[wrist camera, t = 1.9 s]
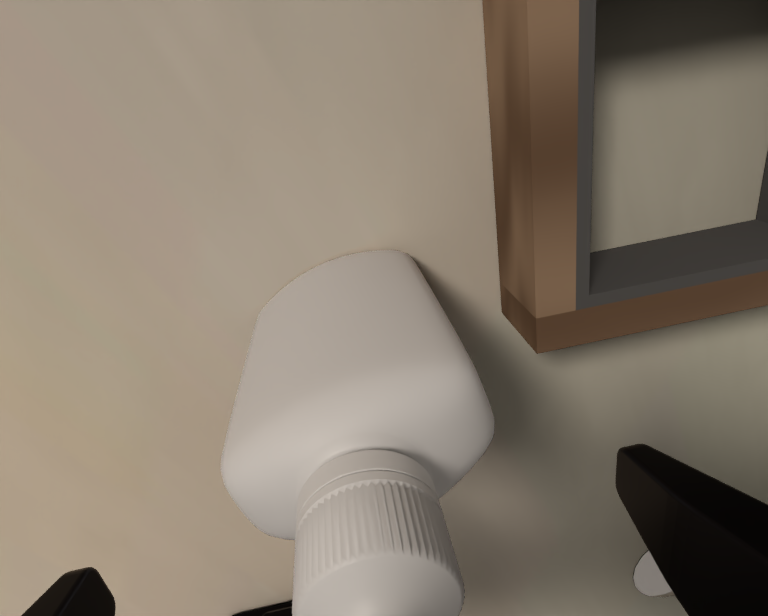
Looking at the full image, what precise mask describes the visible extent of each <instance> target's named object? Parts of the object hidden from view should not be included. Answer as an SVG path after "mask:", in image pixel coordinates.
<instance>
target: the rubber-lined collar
mask: <svg viewBox="0 0 768 616" xmlns="http://www.w3.org/2000/svg"><path fill="white" fill-rule="evenodd" d="M483 16H484V32H485V48H486V64H487V81H488V97H489V113H490V129H491V145H492V161H493V177H494V193H495V209H496V225H497V241H498V257H499V273H500V289H501V305H502V313H503V314H504V316H505V317H506V318H507V319H508V320H509V321H510V323H511V324H512V325H513V326H514V327H515V328H516V330H517V331H518V332H519V333H520V334H521V336H522V337H523V338H524V339H525V340H526V341H527V343H528V344H529V345H530V346H531V347H532V348H533V350H534V351H535V352H536V353H537V354H538V353H543V352H548V351H552V350H557V349H562V348H567V347H571V346H576V345H581V344H586V343H590V342H595V341H600V340H604V339H609V338H614V337H619V336H623V335H628V334H633V333H638V332H642V331H647V330H652V329H656V328H661V327H666V326H671V325H675V324H680V323H685V322H690V321H694V320H699V319H704V318H709V317H713V316H718V315H723V314H727V313H732V312H737V311H742V310H746V309H751V308H756V307H761V306H765V305H768V154H767V160H766V165H765V171H764V177H763V183H762V188H761V194H760V200H759V205H758V211H757V217H756V220H751V221H746V222H741V223H736V224H731V225H726V226H722V227H717V228H712V229H707V230H702V231H697V232H692V233H687V234H682V235H677V236H672V237H667V238H662V239H657V240H652V241H647V242H642V243H637V244H632V245H627V246H622V247H617V248H612V249H607V250H603V251H598V252H593V253H590V235H591V194H592V153H593V111H594V70H595V29H596V0H483Z"/></svg>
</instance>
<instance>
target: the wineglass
mask: <svg viewBox="0 0 768 616" xmlns="http://www.w3.org/2000/svg"><path fill="white" fill-rule="evenodd" d="M633 579H634V583H635V587H636V588H637V589H638V590H639V591H640V592H641V593H643V594H645V595H648V596H651V597H670V596H675V594H674V593H673V591H672V590H671V588H670V587H669V585H668V584H667V582H666V580H665V578H664V577H663V575H662V573H661V572H660V570H659V568H658V566H657V564H656V563H655V561H654V559H653V557H652V555H651V553H650V552H649V551H648V552H647V553H646V554H644V555H643V556H642V558H641V559H640V561H639V563H638V564H637V566H636V568H635V572H634V577H633Z"/></svg>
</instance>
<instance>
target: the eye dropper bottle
mask: <svg viewBox="0 0 768 616" xmlns="http://www.w3.org/2000/svg"><path fill="white" fill-rule="evenodd" d="M494 424H495V423H494V416H493V412H492V409H491V406H490V403H489V400H488V398H487V395H486V393H485V390H484V388H483V385H482V383H481V380H480V378H479V375H478V373H477V371H476V368H475V366H474V364H473V362H472V360H471V358H470V356H469V355H468V353H467V351H466V349H465V347H464V345H463V343H462V342H461V340H460V338H459V336H458V334H457V333H456V331H455V329H454V327H453V326H452V324H451V322H450V321H449V319H448V317H447V315H446V314H445V312H444V310H443V308H442V307H441V305H440V303H439V302H438V300H437V298H436V296H435V295H434V293H433V291H432V290H431V288H430V286H429V285H428V283H427V281H426V279H425V278H424V276H423V274H422V273H421V271H420V269H419V268H418V266H417V264H416V263H415V261H414V260H413V259H412V258H411V257H410V255H409V254H407V253H404V252H401V251H398V250H376V251H367V252H361V253H355V254H351V255H346V256H343V257H339V258H336V259H333V260H330V261H328V262H325V263H323V264H321V265H319V266H316V267H314V268H312V269H310V270H309V271H307V272H305V273H303V274H302V275H300V276H299V277H297V278H296V279H294V280H293V281H291V282H290V283H289V284H288V285H286V286H285V287H284V288H283V289H281V290H280V291H279V292H278V293H277V294H276V295H275V296H274V297H273V298H272V299H271V300H270V301H269V302H268V303H267V304H266V305H265V306H264V308H263V309H262V310H261V311H260V313H259V315H258V318H257V321H256V323H255V327H254V331H253V334H252V338H251V342H250V345H249V349H248V353H247V357H246V360H245V364H244V368H243V372H242V375H241V379H240V383H239V387H238V391H237V395H236V398H235V402H234V406H233V410H232V414H231V418H230V422H229V426H228V430H227V435H226V439H225V444H224V448H223V452H222V457H221V473H222V477H223V481H224V485H225V487H226V489H227V491H228V493H229V494H230V496H231V497H232V499H233V501H234V502H235V503H236V505H237V506H238V507H239V509H240V510H241V511H242V512H243V514H244V515H245V516H246V517H247V519H248V520H249V521H250V522H251V523H252V524H253V525H254V526H255V527H256V528H258V529H259V530H260V531H262V532H264V533H265V534H267V535H269V536H273V537H277V538H282V539H288V540H295V558H294V579H293V599H292V616H459V613H460V611H461V610H462V606H463V604H464V602H463V600H464V598H465V596H464V593H465V590H464V583H463V580H462V576H461V573H460V570H459V566H458V563H457V560H456V557H455V553H454V550H453V547H452V543H451V540H450V537H449V533H448V530H447V527H446V523H445V520H444V516H443V513H442V510H441V506H440V503H439V500H438V499H439V498H440V497H442V496H443V495H444V494H445V493H447V492H448V491H449V490H450V489H451V488H452V487H453V486H454V485H455V484H456V483H457V482H458V481H459V480H460V479H462V478H463V477H464V475H465V474H466V473H467V472H468V471H469V470H470V469H471V468H472V467H473V466H474V465H475V463H476V462H477V461H478V460H479V459H480V458H481V456H482V455H483V454H484V453H485V451H486V449H487V448H488V446H489V444H490V442H491V441H492V439H493V436H494Z"/></svg>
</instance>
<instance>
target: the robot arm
mask: <svg viewBox="0 0 768 616" xmlns="http://www.w3.org/2000/svg"><path fill="white" fill-rule="evenodd" d="M616 489H617V492H618V494H619V497H620V499H621V500H622V502H623V504H624V506H625V508H626V510H627V511H628V513H629V515H630V517H631V519H632V521H633V522H634V524H635V526H636V528H637V530H638V532H639V533H640V535H641V537H642V539H643V541H644V542H645V544H646V546H647V548H648V550H649V552H650V553H651V555H652V557H653V559H654V561H655V563H656V564H657V566H658V568H659V570H660V572H661V573H662V575H663V577H664V578H665V580H666V582H667V584H668V585H669V587H670V588H671V590H672V591H673V593H674V594H675V596H676V597H677V599H678V600H679V602H680V603H681V605H682V606H683V608H684V609H685V611H686V612H687V614H688V615H689V616H768V505H767V504H765V503H763V502H761V501H759V500H757V499H755V498H753V497H751V496H749V495H747V494H745V493H743V492H741V491H739V490H737V489H735V488H733V487H731V486H729V485H727V484H725V483H723V482H721V481H719V480H717V479H715V478H713V477H711V476H708V475H706V474H704V473H702V472H700V471H698V470H696V469H694V468H692V467H690V466H688V465H686V464H684V463H682V462H680V461H678V460H676V459H674V458H672V457H670V456H668V455H666V454H664V453H662V452H660V451H658V450H656V449H654V448H652V447H650V446H647V445H645V444H635V445H631V446H627V447H622V448H620V449H619V451H618V453H617V465H616ZM22 616H115V600H114V597H113V595H112V593H111V592H110V590H109V589H108V587H107V585H106V584H105V582H104V581H103V579H102V577H101V576H100V574H99V572H98V571H97V570H96V569H94V568H92V567H87V568H83V569H78V570H74V571H70V572H67V573H65V574H64V575H62V576H61V577H60V578H59V579H58V580H57V581H56V582H55V583H54V584H53V585H52V586H51V587H50V588H49V589H48V590H47V591H46V592H45V593H44V594H43V595H42V596H41V597H40V598H39V599H38V600H37V601H36V602H35V603H34V604H33V605H32V606H31V607H30V608H29V609H28V610H27V611H26V612H25V613H24V614H23V615H22ZM233 616H292V602H289V603H285V604H280V605H276V606H272V607H267V608H263V609H259V610H255V611H250V612H246V613H242V614H237V615H233Z"/></svg>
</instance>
